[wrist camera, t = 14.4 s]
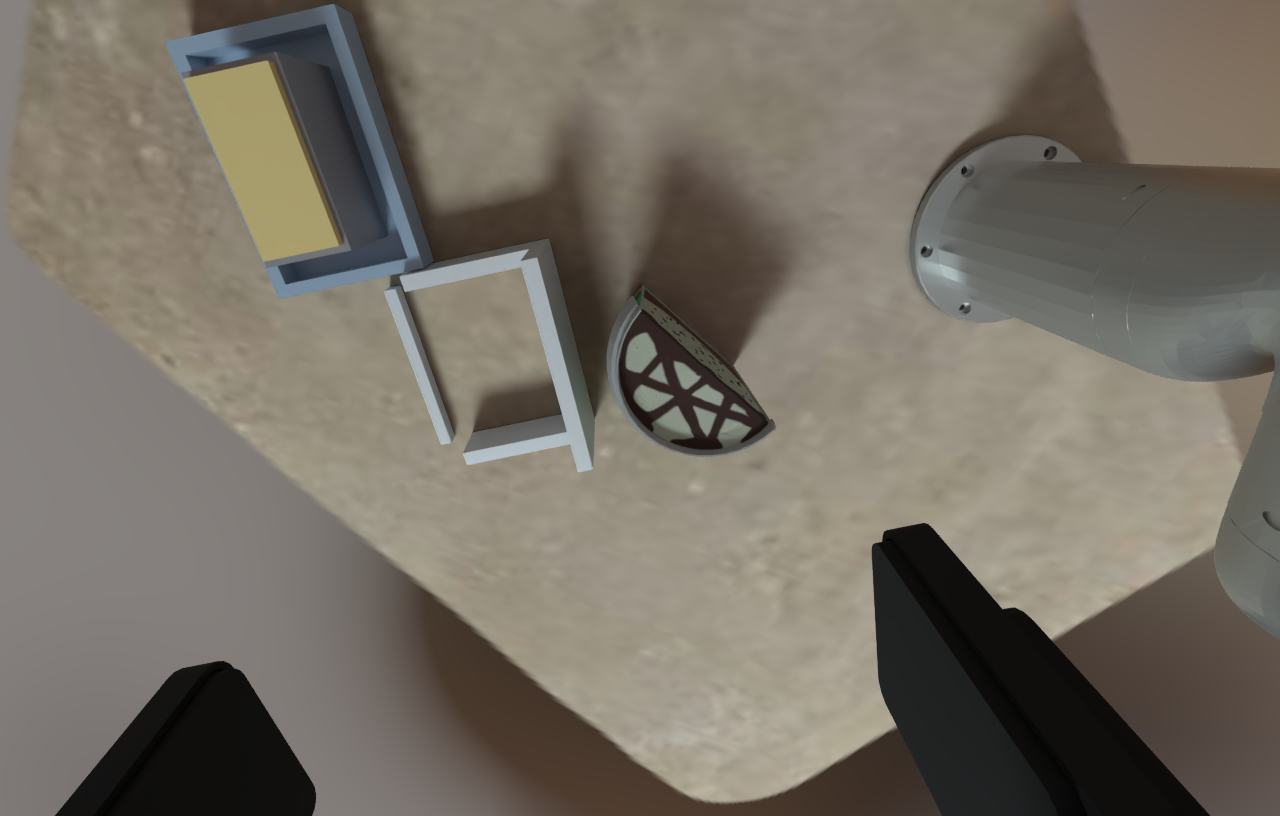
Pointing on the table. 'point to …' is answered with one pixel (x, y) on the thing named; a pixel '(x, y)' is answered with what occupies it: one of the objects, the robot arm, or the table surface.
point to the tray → (339, 47)
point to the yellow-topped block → (287, 155)
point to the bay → (557, 344)
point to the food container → (679, 384)
